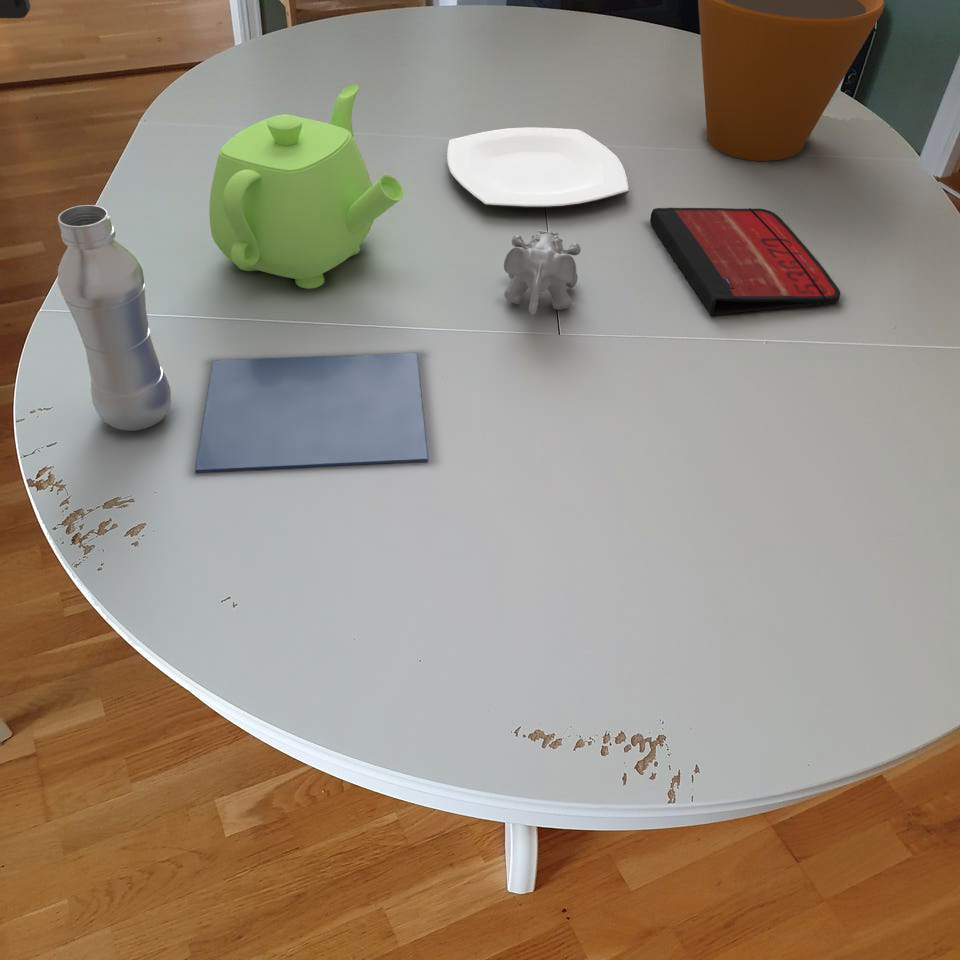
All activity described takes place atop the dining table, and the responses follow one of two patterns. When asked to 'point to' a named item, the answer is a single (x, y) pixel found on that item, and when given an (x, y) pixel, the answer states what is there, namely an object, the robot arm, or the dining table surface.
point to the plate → (535, 167)
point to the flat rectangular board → (312, 412)
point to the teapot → (296, 195)
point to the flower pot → (775, 68)
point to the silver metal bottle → (111, 320)
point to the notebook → (742, 259)
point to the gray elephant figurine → (541, 269)
